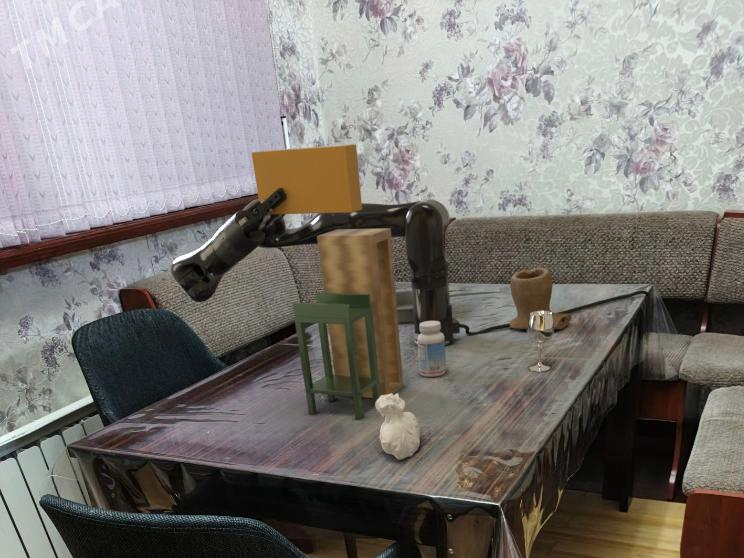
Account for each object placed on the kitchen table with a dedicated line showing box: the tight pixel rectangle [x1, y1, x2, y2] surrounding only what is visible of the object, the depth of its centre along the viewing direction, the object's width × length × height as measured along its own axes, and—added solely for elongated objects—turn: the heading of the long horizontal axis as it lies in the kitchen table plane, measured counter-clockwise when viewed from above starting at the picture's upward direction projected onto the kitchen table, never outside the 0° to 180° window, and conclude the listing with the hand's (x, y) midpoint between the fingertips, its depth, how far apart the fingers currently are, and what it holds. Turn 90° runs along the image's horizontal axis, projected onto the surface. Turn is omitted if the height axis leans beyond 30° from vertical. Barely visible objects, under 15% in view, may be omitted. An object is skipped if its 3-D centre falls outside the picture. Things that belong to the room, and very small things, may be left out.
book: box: [251, 143, 363, 215], centre depth 136 cm, size 21×4×11 cm, turn 64°
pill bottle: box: [417, 321, 447, 378], centre depth 157 cm, size 6×6×11 cm
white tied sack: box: [374, 392, 421, 461], centre depth 122 cm, size 12×8×11 cm
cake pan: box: [396, 289, 414, 324], centre depth 209 cm, size 25×25×4 cm
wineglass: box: [526, 310, 555, 372], centre depth 154 cm, size 6×6×12 cm
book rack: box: [292, 292, 381, 420], centre depth 139 cm, size 12×9×22 cm
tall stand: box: [317, 228, 404, 399], centre depth 145 cm, size 12×8×32 cm, turn 64°
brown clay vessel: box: [508, 267, 572, 330], centre depth 181 cm, size 15×12×15 cm
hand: (290, 191), depth 138 cm, fingers closed on book, 4 cm apart
